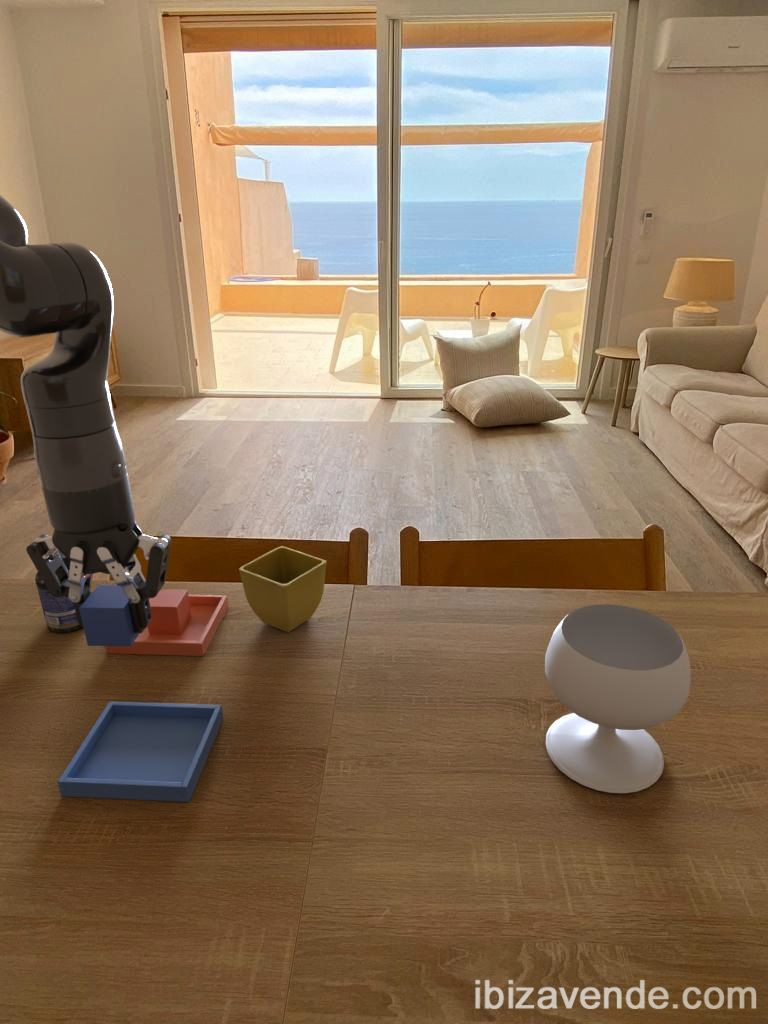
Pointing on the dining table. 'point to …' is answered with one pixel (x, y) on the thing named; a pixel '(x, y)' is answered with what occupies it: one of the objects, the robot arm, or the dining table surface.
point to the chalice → (614, 694)
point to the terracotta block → (169, 612)
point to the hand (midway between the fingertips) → (116, 627)
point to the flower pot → (284, 586)
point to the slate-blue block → (107, 617)
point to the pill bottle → (57, 606)
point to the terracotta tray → (194, 636)
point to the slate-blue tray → (143, 752)
